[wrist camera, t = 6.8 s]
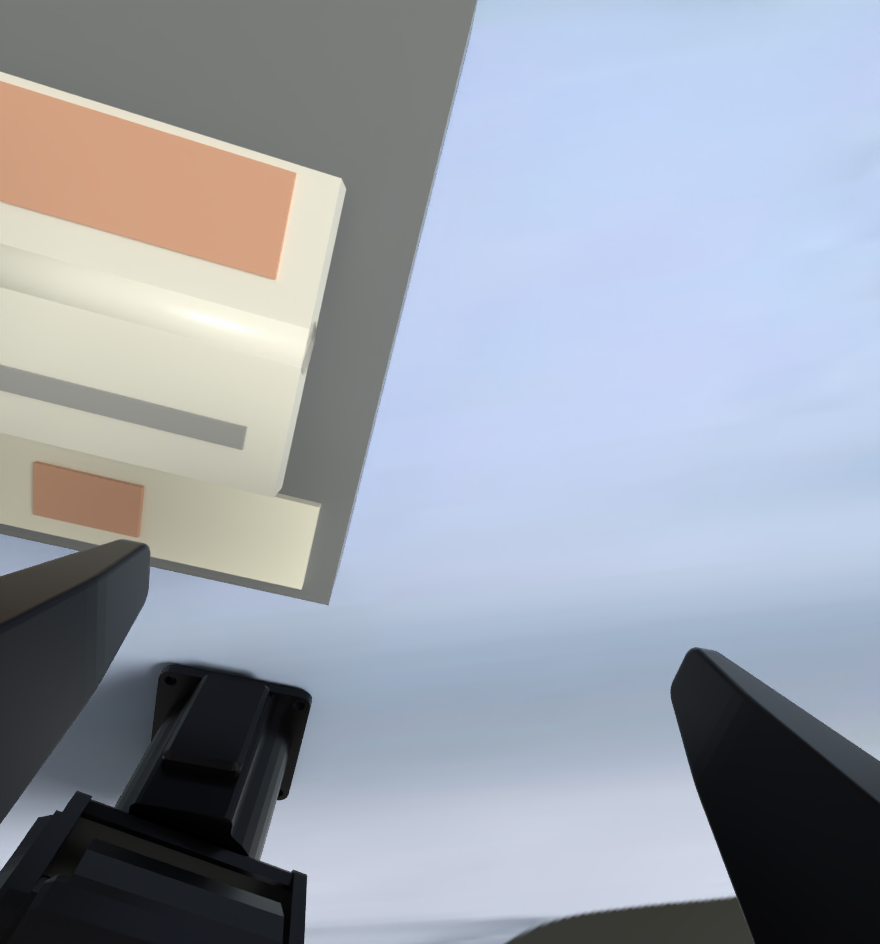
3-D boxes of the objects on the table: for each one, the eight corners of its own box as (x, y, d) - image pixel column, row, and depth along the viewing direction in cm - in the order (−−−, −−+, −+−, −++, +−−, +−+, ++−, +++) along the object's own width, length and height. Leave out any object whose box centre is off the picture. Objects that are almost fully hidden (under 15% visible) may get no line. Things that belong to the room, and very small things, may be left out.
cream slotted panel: (283, 485, 16) (271, 500, 14) (-176, 374, 14) (-238, 378, 13) (347, 191, 14) (340, 175, 12) (-173, 29, 12) (-243, -8, 11)
